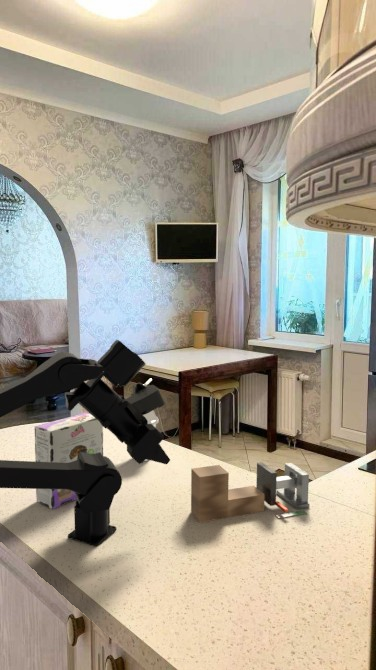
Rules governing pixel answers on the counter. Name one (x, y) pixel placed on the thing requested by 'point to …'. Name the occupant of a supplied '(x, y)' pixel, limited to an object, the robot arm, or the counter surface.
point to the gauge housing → (298, 498)
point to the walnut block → (221, 495)
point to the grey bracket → (273, 484)
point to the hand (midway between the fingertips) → (165, 458)
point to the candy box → (65, 449)
